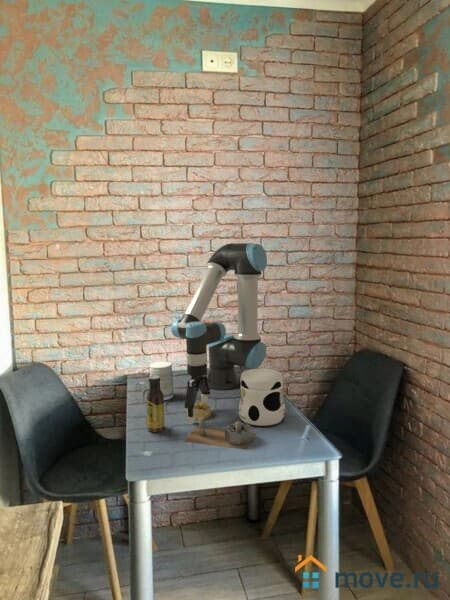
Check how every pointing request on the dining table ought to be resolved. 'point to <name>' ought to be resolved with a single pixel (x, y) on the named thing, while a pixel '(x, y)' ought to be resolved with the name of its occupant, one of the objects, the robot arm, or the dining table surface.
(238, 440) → the steel gear
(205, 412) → the brass gear
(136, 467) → the dining table surface
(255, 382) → the milk container
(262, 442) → the dining table surface
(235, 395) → the dining table surface
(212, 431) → the gear board
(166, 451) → the dining table surface
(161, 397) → the sauce bottle
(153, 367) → the supplement tub
